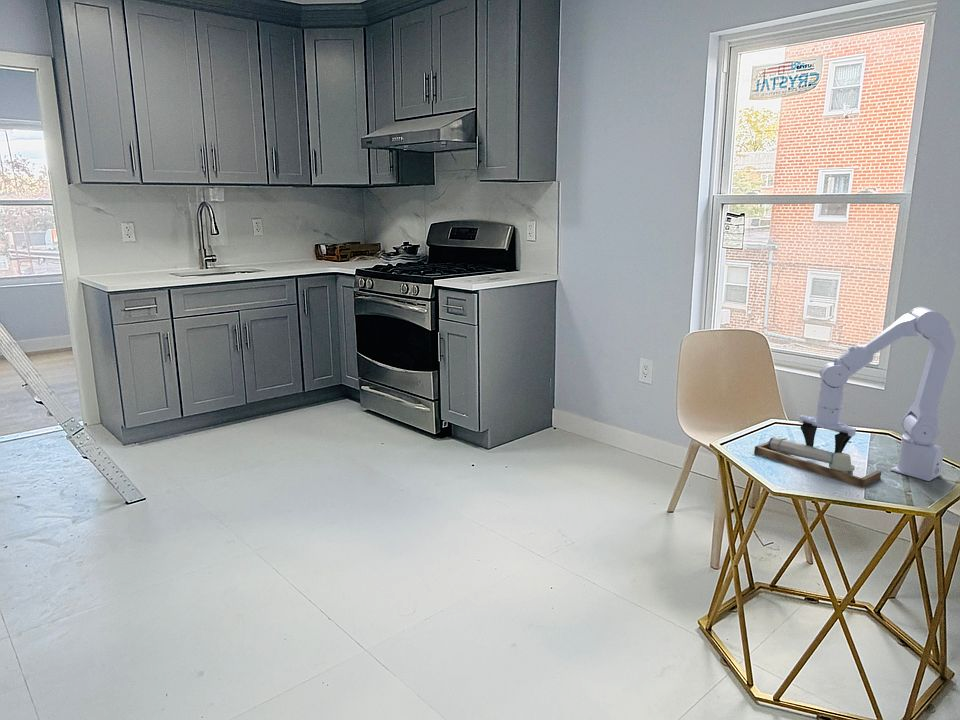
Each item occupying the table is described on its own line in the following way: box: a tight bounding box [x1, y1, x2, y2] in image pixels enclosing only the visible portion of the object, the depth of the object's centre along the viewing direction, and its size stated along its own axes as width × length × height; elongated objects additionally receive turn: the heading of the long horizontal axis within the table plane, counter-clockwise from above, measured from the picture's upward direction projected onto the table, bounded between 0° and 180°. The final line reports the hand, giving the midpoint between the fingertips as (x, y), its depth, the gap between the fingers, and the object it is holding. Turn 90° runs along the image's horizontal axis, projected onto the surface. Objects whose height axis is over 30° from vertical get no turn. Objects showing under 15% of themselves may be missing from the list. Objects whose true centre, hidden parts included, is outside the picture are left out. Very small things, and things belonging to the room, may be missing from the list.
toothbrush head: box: [767, 436, 855, 476], centre depth 189 cm, size 5×7×25 cm
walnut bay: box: [753, 441, 883, 488], centre depth 188 cm, size 30×10×2 cm, turn 37°
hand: (823, 453), depth 190 cm, fingers open, 7 cm apart
